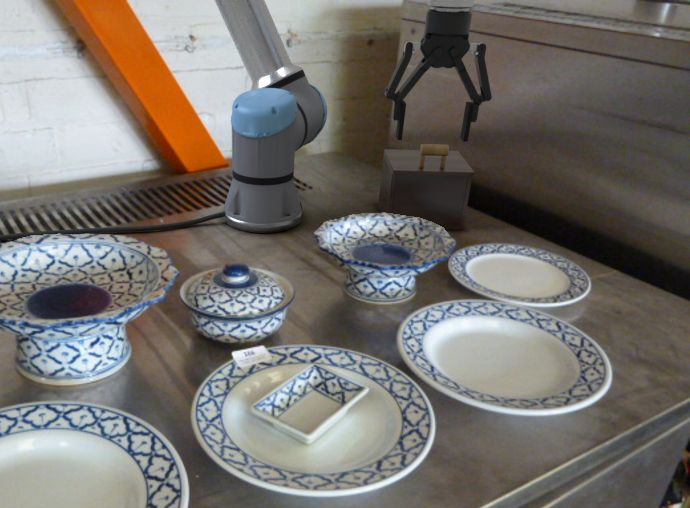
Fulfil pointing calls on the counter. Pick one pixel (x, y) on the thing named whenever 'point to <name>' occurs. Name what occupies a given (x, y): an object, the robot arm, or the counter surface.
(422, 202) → the chest
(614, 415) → the counter surface
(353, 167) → the counter surface
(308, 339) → the counter surface
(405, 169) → the lid
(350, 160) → the counter surface
